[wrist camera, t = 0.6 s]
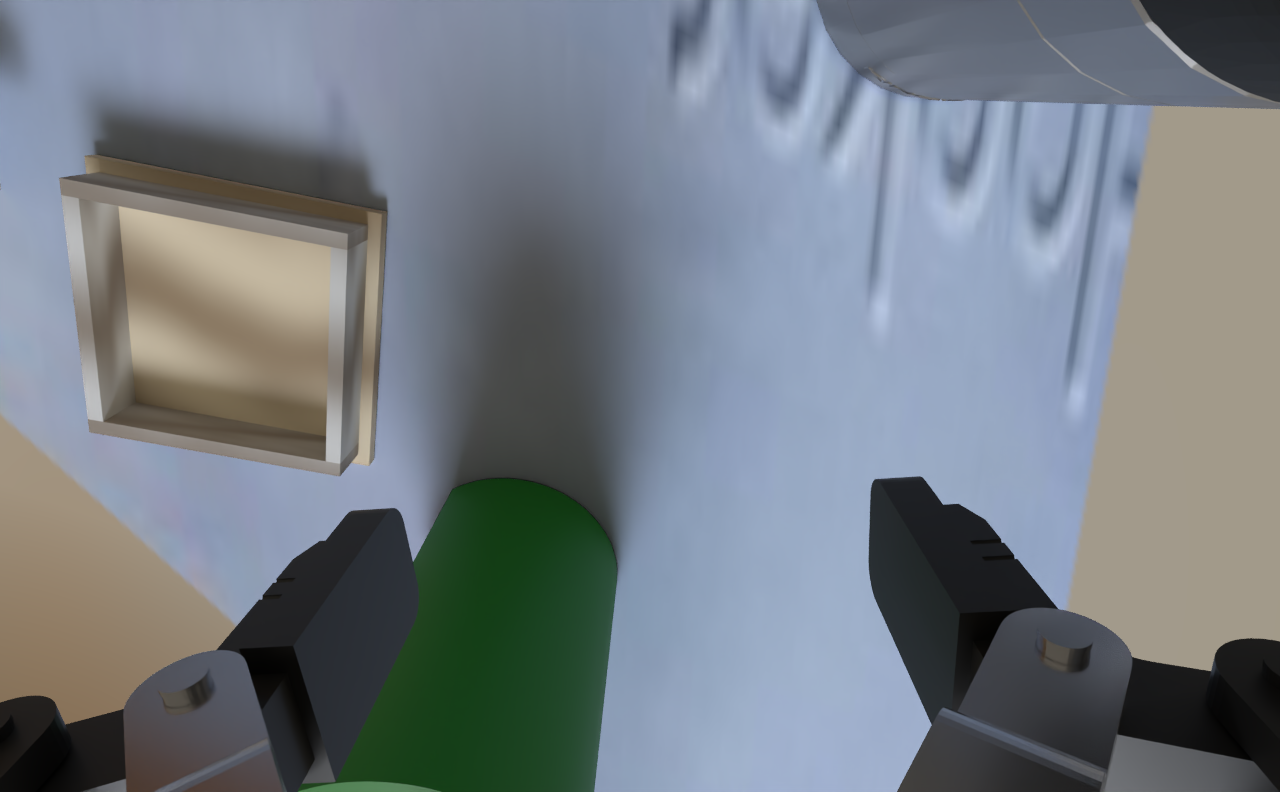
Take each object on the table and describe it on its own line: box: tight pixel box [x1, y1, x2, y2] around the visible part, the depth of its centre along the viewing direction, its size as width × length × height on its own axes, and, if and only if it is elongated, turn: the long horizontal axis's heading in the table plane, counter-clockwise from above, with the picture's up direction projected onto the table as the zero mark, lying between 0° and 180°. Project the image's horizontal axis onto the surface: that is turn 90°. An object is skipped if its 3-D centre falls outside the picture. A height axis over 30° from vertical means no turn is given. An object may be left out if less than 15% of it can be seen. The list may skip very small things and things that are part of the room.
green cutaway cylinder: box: [298, 478, 617, 792], centre depth 26 cm, size 10×9×20 cm
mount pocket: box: [59, 155, 387, 476], centre depth 29 cm, size 11×11×3 cm
